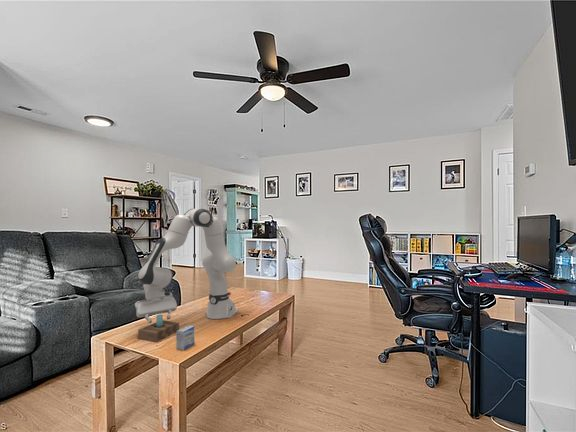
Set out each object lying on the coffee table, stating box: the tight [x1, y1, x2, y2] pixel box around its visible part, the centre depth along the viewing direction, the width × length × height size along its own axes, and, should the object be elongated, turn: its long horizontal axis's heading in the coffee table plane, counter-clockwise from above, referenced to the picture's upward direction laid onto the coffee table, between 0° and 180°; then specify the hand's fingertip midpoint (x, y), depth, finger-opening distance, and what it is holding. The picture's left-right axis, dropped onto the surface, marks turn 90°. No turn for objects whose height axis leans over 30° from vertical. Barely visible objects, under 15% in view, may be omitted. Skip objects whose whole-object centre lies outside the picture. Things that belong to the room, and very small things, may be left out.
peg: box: [155, 314, 164, 328], centre depth 153 cm, size 3×3×10 cm
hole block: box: [137, 319, 180, 343], centre depth 153 cm, size 16×12×4 cm
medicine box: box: [175, 325, 195, 351], centre depth 138 cm, size 8×4×9 cm, turn 160°
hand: (159, 320), depth 153 cm, fingers open, 8 cm apart
